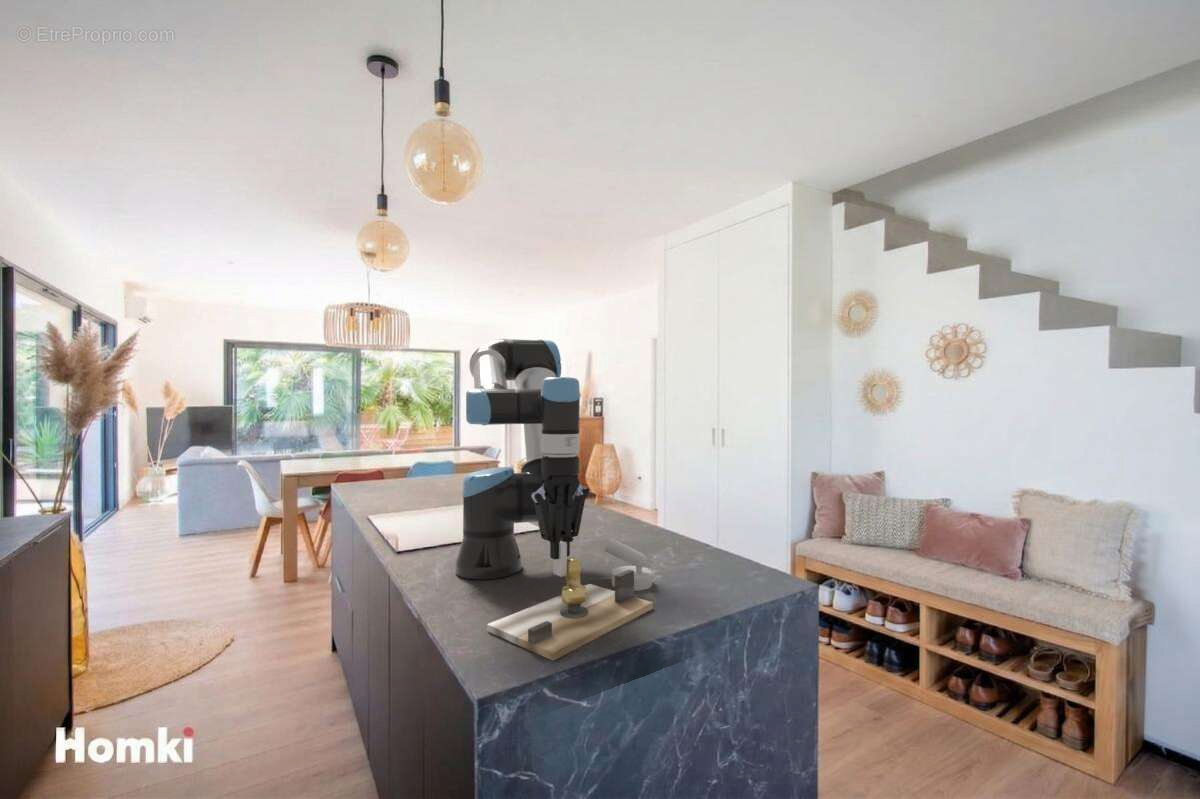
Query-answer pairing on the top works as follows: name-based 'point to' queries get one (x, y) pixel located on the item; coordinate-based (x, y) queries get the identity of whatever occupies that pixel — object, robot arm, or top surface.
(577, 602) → the latch lever
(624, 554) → the wall hook
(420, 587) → the top surface
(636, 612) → the door plate
